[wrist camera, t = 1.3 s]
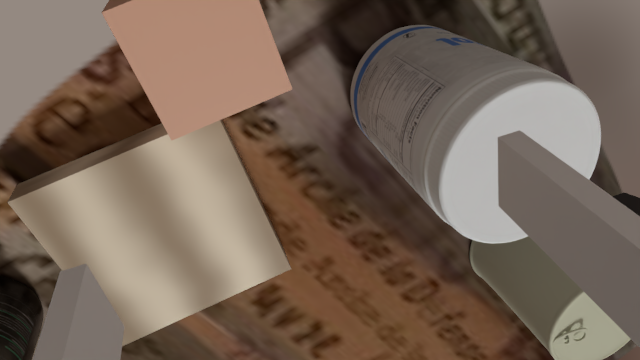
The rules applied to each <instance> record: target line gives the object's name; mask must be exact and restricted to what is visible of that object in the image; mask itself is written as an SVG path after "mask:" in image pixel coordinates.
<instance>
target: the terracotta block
mask: <svg viewBox="0 0 640 360" xmlns="http://www.w3.org/2000/svg"><path fill="white" fill-rule="evenodd" d="M102 14H103V16H104V18H105V20H106V21H107V23H108V25H109V27H110V29H111V31H112V32H113V34H114V36H115V38H116V40H117V42H118V43H119V45H120V47H121V49H122V51H123V53H124V54H125V56H126V58H127V60H128V62H129V64H130V65H131V67H132V69H133V71H134V73H135V75H136V76H137V78H138V80H139V82H140V84H141V85H142V87H143V89H144V91H145V93H146V95H147V96H148V98H149V100H150V102H151V104H152V106H153V107H154V109H155V111H156V113H157V115H158V117H159V118H160V120H161V122H162V124H163V126H164V128H165V129H166V131H167V133H168V135H169V137H170V139H171V140H174V139H177V138H179V137H182V136H184V135H186V134H189V133H191V132H193V131H196V130H198V129H200V128H203V127H205V126H207V125H210V124H212V123H214V122H217V121H219V120H221V119H224V118H226V117H228V116H231V115H233V114H235V113H238V112H240V111H243V110H245V109H247V108H250V107H252V106H254V105H257V104H259V103H261V102H264V101H266V100H268V99H271V98H273V97H275V96H278V95H280V94H282V93H285V92H287V91H289V90H292V87H291V84H290V81H289V79H288V76H287V73H286V71H285V68H284V66H283V63H282V60H281V58H280V55H279V52H278V50H277V47H276V44H275V42H274V39H273V37H272V34H271V31H270V29H269V26H268V23H267V21H266V18H265V15H264V13H263V10H262V8H261V5H260V2H259V0H109V2H108V3H107V5H106V6H105V8H104V10H103V11H102Z"/></svg>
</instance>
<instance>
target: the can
mask: <svg viewBox="0 0 640 360" xmlns="http://www.w3.org/2000/svg"><path fill="white" fill-rule="evenodd" d="M469 254H470V262H471V265H472V268H473V270H474V271H475V272H476V273H477V275H479V276H480V277H481V278H483V279H484V280H485V281H486V282H487V283H488V284H489V285H490V286H491V287H492V288H493V289H494V290H495V292H496V293H497V294H498V295H499V296H500V297H501V298H502V299H503V300H504V301H505V302H506V304H507V305H508V306H509V307H510V308H511V309H512V310H513V311H514V312H515V314H516V315H517V316H518V317H519V318H520V319H521V320H522V321H523V322H524V324H525V325H526V326H527V327H528V328H529V329H530V330H531V331H532V333H533V334H534V335H535V336H536V337H537V338H538V339H539V341H540V342H541V343H542V344H543V345H544V346H545V347H546V349H547V350H548V351H549V352H550V354H551V355H552V357H553V358H554V359H555V360H602V359H604V358H606V357H608V356H610V355H611V354H613V353H615V352H616V351H617V350H619V349H620V348H621V347H623V346H624V345H625V344H626V343H627V342H628V341H629V340H630V339H631V338H630V337H629V336H628V335H627V334H626V333H625V332H624V331H623V330H622V329H621V328H620V327H619V326H618V325H617V324H616V323H615V322H614V321H613V320H612V319H611V318H610V317H609V316H608V315H607V314H606V313H605V312H604V311H603V310H602V309H601V308H600V307H599V306H598V305H597V304H596V303H595V302H594V301H593V300H592V299H591V298H590V297H589V296H588V295H587V294H586V293H585V292H584V291H583V290H582V289H581V288H580V287H579V286H578V285H577V284H576V283H575V282H574V281H573V280H572V279H571V278H570V277H569V276H568V275H567V274H566V273H565V272H564V271H563V270H562V269H561V268H560V267H559V266H558V265H557V264H556V263H555V262H554V261H553V260H552V259H551V258H550V257H549V256H548V255H547V254H546V253H545V252H544V251H543V250H542V249H541V248H540V247H539V246H538V245H537V244H536V243H535V242H534V241H533V240H532V239H531V238H530V237H529V236H528V237H525V238H522V239H519V240H516V241H512V242H507V243H494V244H491V243H483V242H478V241H474V240H472V242H471V246H470V253H469Z"/></svg>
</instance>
